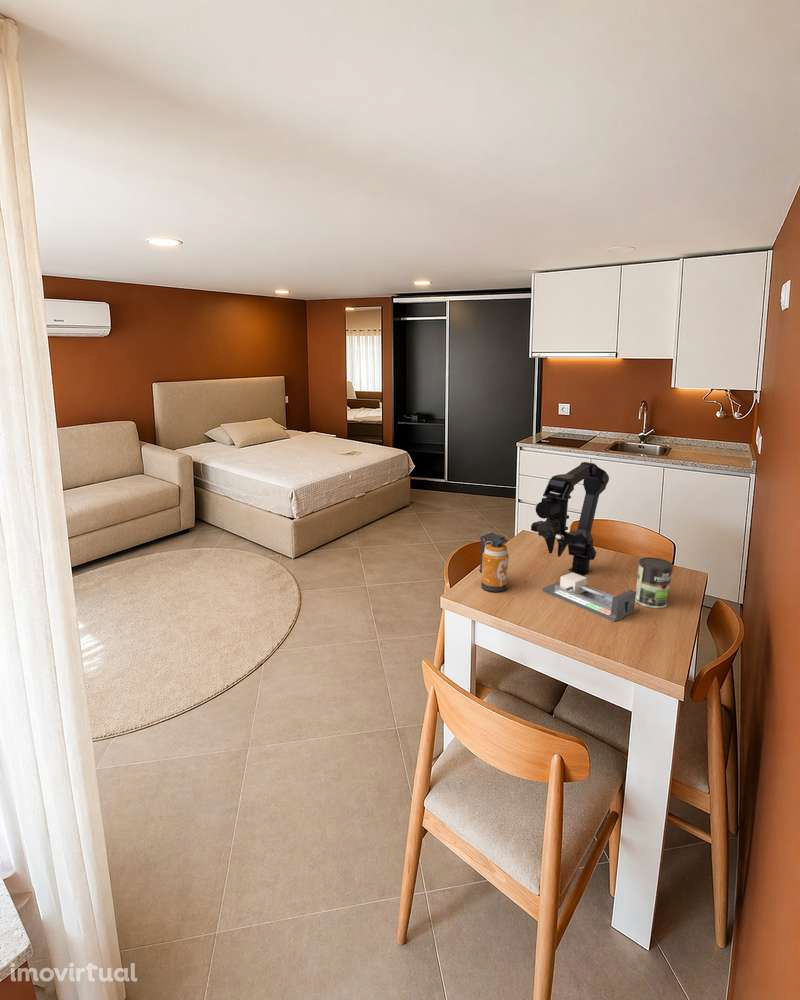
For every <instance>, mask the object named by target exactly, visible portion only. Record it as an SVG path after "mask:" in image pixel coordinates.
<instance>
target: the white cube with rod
mask: <svg viewBox="0 0 800 1000" xmlns="http://www.w3.org/2000/svg"><path fill="white" fill-rule="evenodd" d="M559 580H560V586H561V587H564V588H566V590H567V591H568V590H571V591H573V592H576V593H578V594H580V593H583V592H585V591H587V592H590V593H592V594H595V595H597V596H600V597H602V598H604V597H605V594H602V593H600V592H597V591H594V590H592V589H589V588H587V587H586V585H587V580H588V577H586V576H584V575H580V574H577V573H574V572H572V571H571V572H569V573H567V574H564V575H562V576H560V579H559Z"/></svg>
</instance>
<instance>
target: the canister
mask: <svg viewBox="0 0 800 1000" xmlns="http://www.w3.org/2000/svg"><path fill="white" fill-rule="evenodd" d="M479 538H480V543H481V545H480V564H479V565H480V567H479V569H478V571H479V573H480V575H481V578H480V579H481V583H480V587H481V588H483V590H486V591H489V592H496V593H497V592H502V591H505V590H506V589H507V587H508V573H509V572H508V571H509V556H510V555H509V553H508V547H507V545H506V544H504V543H506V542H508V539H507V538H506V537H505V536H503V535H498V534H495V532H492V531H491V532H490V533H486V534H484V535H482V536H480V537H479Z"/></svg>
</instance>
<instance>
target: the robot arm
mask: <svg viewBox="0 0 800 1000" xmlns="http://www.w3.org/2000/svg"><path fill="white" fill-rule="evenodd" d="M581 481H583V484H582V485H583V488H584V491H585V495H584V499H583V503H582V508H581V512H580V517H579V520H578V524H577V525H578V526H577V529H576V530H571V531H569V532H568V530H569V526H567V520H568V519H570V515H569V514H568V508H569V507H568V505H569V499H570V500H571V499H572V496H571V493H572V492H573V491H574V490H575V486H576V485H577V484H578V483H580V482H581ZM609 481H610V476H609V474H608V473H607V472H606V470H604V469H602V468H600V467H599V466H598V465H597V464H596V463H594V462H589V461H583V462H581V463H580V465H577V466H576V467H574V468H573V469H571V470H570V471H568V472H567V473H564V474H563V473H561V474H556V475H553V476H552V477H551V478H550V479H549V480H548V483H547V485H546V487H545V490H544V491H543V494H542V498H541V501H540V502H538V503H537V504H536V506H535V512H536V515H537V516H538V518H541V519H545V521H543V520H538V521H535V522H534V521H533V522H532V524H531V525H530V531H532V532H534V533H537V534H538V536H540V537H542V538H543V539H544V540H545V543H546V546H547V550H548V553H549V554H550V555H551V554H553V551H554V547H555V541H556V542H557V545H558V546H557V557H559V558H560V557H561V556H562V554H563V553H564V551H565V549H566V548H568V555H569V556H573V557H572V558H573V559H572V566H571V567H570V568H568V571H569V572H571V573H572V572H573V573H575V574H578V575H581V576H585V575H588V574H590V573H593V570H592V569H590V562H591V561H595V558H596V556H597V551H596V549H595V547H594V539H593V536H592V528H593V524H594V519H595V516H596V515H595V514H596V512H597V511H596V510H597V505H598V502H599V497H600V495H601V494H602V493H603V492H604V491H605V490H606V488H607V485H608V483H609ZM557 536H560V538H558V539H556V537H557Z"/></svg>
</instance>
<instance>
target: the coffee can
mask: <svg viewBox="0 0 800 1000" xmlns="http://www.w3.org/2000/svg"><path fill="white" fill-rule="evenodd" d="M673 568H674V564H673V563H672V562H671V561H668V560H666V559H664V558H663V559H662V558H659V557H648V556H646V557H641V558H640V559H639V560H638V568H637V569H638V570H637V579H636V587H635V592H636V598H635V603H637V604H639V605H640V606H643V607H646V608H651V609H663V608H666V607H667V606H668V599H669V593H670V586H671V579H672V573H673Z"/></svg>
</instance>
